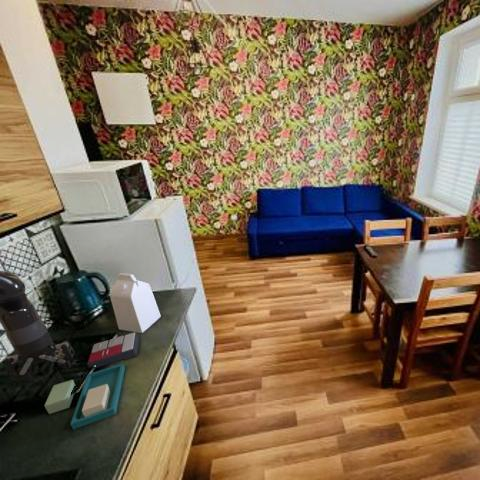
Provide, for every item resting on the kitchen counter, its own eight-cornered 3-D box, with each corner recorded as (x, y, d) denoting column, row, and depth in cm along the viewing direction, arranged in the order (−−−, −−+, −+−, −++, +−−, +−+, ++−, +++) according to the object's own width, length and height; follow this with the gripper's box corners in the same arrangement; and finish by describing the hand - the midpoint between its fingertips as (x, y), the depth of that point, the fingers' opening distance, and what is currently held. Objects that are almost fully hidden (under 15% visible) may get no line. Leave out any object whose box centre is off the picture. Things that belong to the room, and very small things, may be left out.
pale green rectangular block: (49, 414, 84) (44, 405, 83) (58, 393, 91) (53, 385, 89) (69, 407, 86) (64, 399, 85) (76, 387, 93) (72, 379, 91)
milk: (160, 316, 128) (148, 269, 118) (142, 333, 118) (126, 282, 108) (139, 313, 130) (124, 266, 120) (118, 329, 120) (101, 279, 110)
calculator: (92, 343, 107) (136, 330, 113) (96, 351, 109) (139, 337, 115) (85, 363, 98) (133, 347, 104) (90, 371, 100) (136, 355, 106)
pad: (85, 419, 82) (81, 411, 81) (92, 398, 89) (88, 389, 87) (105, 412, 84) (101, 404, 83) (110, 392, 91) (107, 383, 89)
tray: (73, 429, 80) (70, 424, 79) (89, 379, 96) (87, 374, 95) (115, 414, 84) (113, 408, 83) (125, 368, 100) (123, 363, 100)
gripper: (-14, 352, 71) (13, 393, 78) (55, 335, 77) (75, 375, 84) (2, 334, 78) (25, 374, 84) (64, 319, 83) (82, 358, 90)
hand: (50, 374), depth 84 cm, fingers open, 8 cm apart
